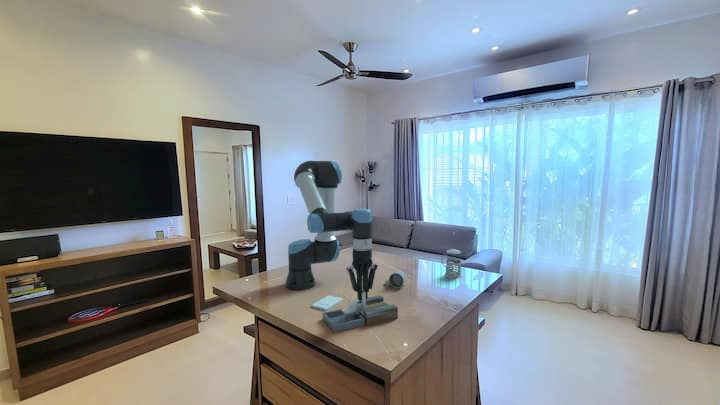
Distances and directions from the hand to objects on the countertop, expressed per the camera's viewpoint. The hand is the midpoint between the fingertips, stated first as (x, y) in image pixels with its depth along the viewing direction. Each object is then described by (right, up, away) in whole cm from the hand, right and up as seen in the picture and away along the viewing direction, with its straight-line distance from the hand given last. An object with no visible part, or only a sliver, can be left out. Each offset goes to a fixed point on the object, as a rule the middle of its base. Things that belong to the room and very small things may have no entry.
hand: (362, 307), depth 116 cm
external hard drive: (-15, -4, +14) cm, 21 cm away
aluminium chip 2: (-2, -1, -1) cm, 3 cm away
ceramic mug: (+17, -2, +36) cm, 40 cm away
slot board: (+5, -4, +3) cm, 7 cm away
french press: (+51, 0, +52) cm, 73 cm away
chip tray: (-7, -4, -3) cm, 9 cm away
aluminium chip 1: (-4, -2, -2) cm, 5 cm away
